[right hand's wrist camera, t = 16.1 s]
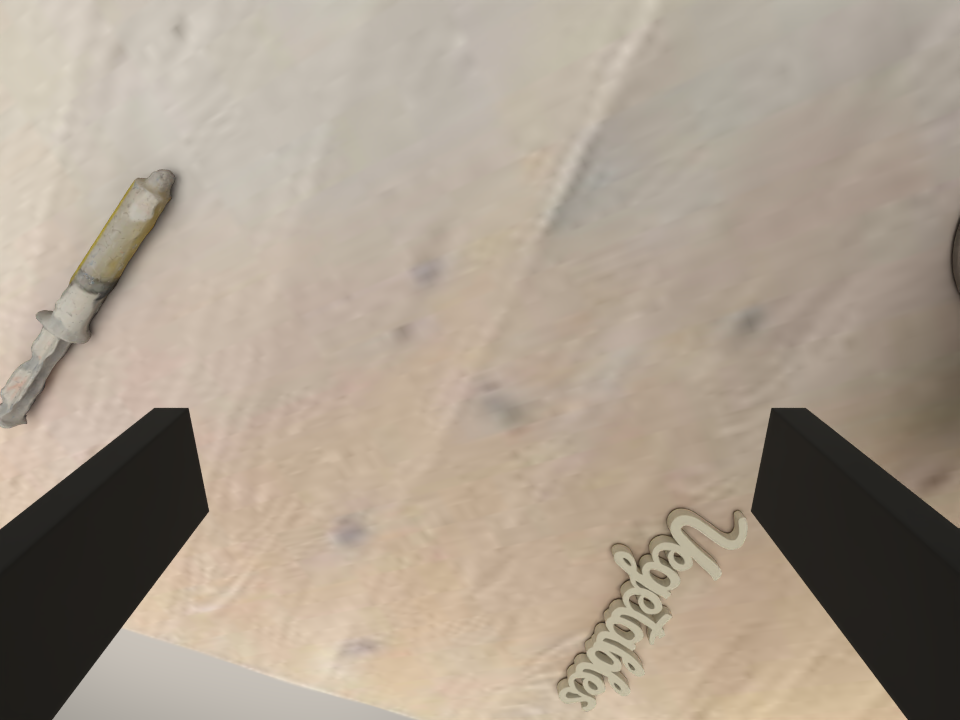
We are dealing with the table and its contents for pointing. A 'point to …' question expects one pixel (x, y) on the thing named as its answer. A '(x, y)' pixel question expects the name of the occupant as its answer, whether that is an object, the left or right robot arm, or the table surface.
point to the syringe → (86, 292)
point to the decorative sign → (642, 605)
